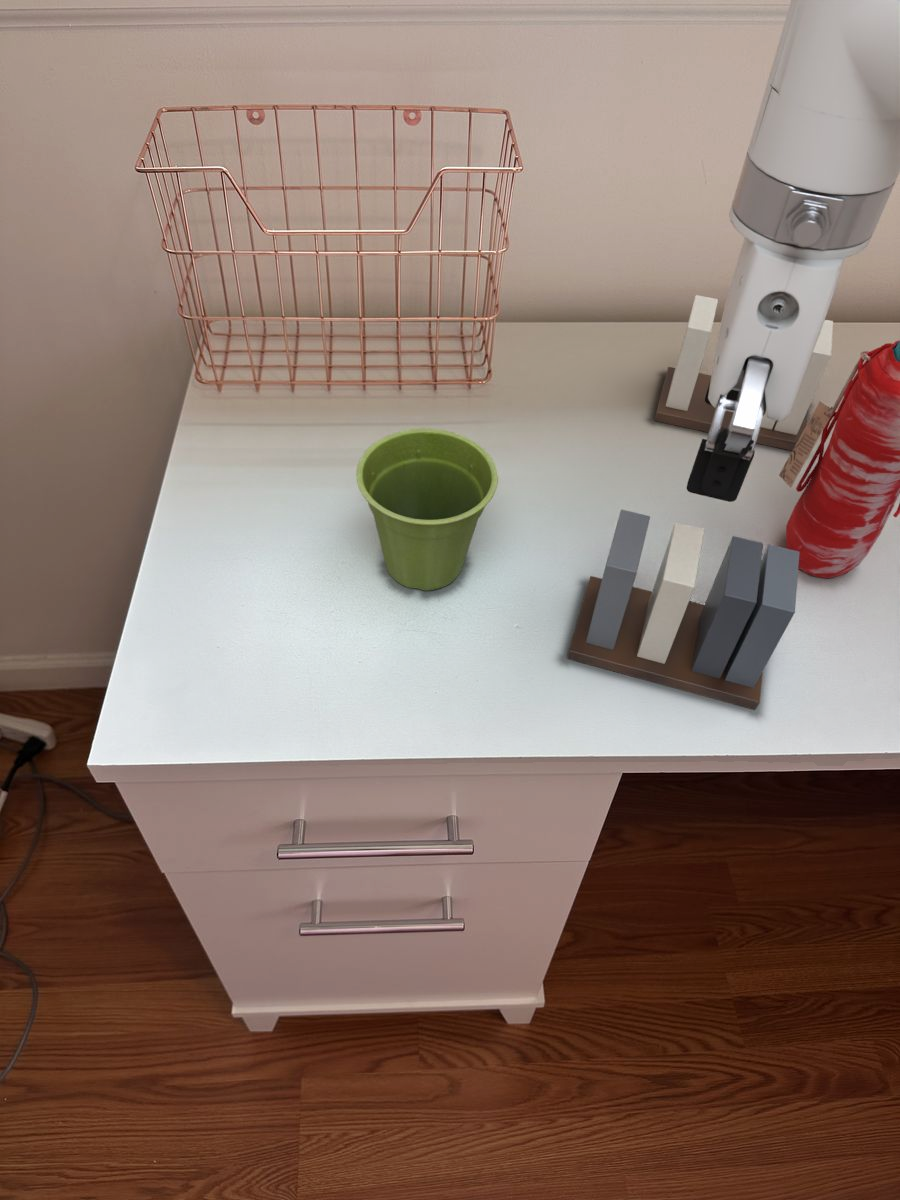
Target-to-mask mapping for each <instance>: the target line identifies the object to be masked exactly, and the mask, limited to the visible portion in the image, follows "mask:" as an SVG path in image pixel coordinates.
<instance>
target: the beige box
mask: <svg viewBox="0 0 900 1200" xmlns="http://www.w3.org/2000/svg"><path fill="white" fill-rule="evenodd" d="M705 531H706V530H705V528H701V527H696V526H692V525H689V524H683V523H680V522H675V523H674V524H673V527H672V530H671V533H670V536H669V539H668V542H667V545H666V548H665V552H664V554H663V558H662V559H661V560H662V561H661V564H660V567H659V570H658V572H657V576H656V579H655V582H654V585H653V588H652V590H651V591H652V594H651V597H650V600H649V603H648V608H647V612H646V617H645V621H644V626H643V630H642V635H641V639H640V644H639V649H638V653H637V657H641V658H644V659H648V660H652V661H655V662H659V663H663V664H665V662H666V660H667V657H668V654H669V652H670V649H671V647H672V644H673V641H674V639H675V636H676V634H677V631H678V629H679V626H680V623H681V621H682V618H683V616H684V613H685V611H686V608H687V605H688V603H689V601H690V600H691V597H692V595H693V592H694V590H695V586H696V581H697V576H698V570H699V565H700V559H701V553H702V547H703V543H704V536H705Z"/></svg>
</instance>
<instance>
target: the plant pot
mask: <svg viewBox="0 0 900 1200" xmlns="http://www.w3.org/2000/svg"><path fill="white" fill-rule="evenodd" d="M355 474H356V475H355V476H356V484H357V487H358V490H359V491H360V493H361V495H362V496H363V498H364V500H365V501H366V502H367V505H368V507H369V509H370V512H371V513H372V516H373V519H374V522H375V526H376V531H377V535H378V539H379V543H380V547H381V551H382V556H383V559H384V563H385V566H386V569H387V571H388V574H389V575H390V576H391V578H392V579H393V580H394V581H396V582H397V583H399V584H400V585H402V586H403V587H406V588H410V589H419V590H422V591H434V590H438V589H441V588H444V587H446V586H448V585H450V584H451V583H453V582H454V581H455V580H456V579H457V578H458V577H459V575H460V574H461V572H462V569H463V566H464V564H465V561H466V557H467V554H468V552H469V548H470V545H471V543H472V539H473V536H474V533H475V530H476V527H477V524H478V521H479V518H480V517H481V516H482V514H483V512H484V510H485V507H486V506H487V505H488V504H489V503H490V502H491V500H492V499H493V497H494V495H495V493H496V491H497V488H498V484H499V475H498V469H497V465H496V464H495V461H494V460H493V458H492V456H491V455H490V454H489V453H488V452H487V451H486V449H484V448H483V447H482V446H481V445H480V444H479V443H477V442H475V441H474V440H472V439H470V438H468V437H466V436H464V435H463V434H460V433H456V432H453V431H449V430H445V429H440V428H428V427H424V428H423V427H421V428H409V429H404V430H400V431H397V432H393V433H391V434H388V435H386V436H383V437H382V438H380V439H378V440H376V441H375V442H374V443H372V444H371V445H370V446H369V447H368V448H367V449H366V450H365V451H364V452H363V453H362V456H361V457H360V459H359V461H358V463H357V467H356V473H355Z"/></svg>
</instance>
